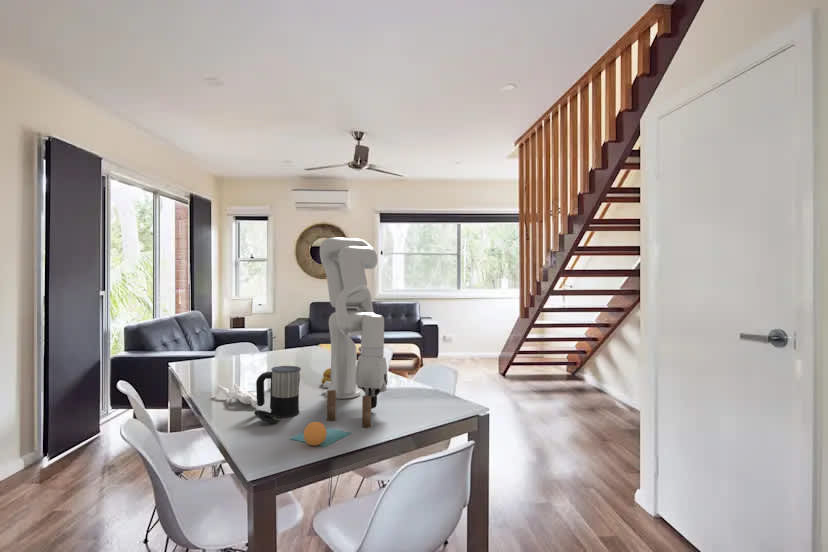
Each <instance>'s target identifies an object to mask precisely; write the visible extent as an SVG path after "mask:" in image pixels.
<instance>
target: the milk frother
mask: <svg viewBox="0 0 828 552" xmlns="http://www.w3.org/2000/svg"><path fill="white" fill-rule="evenodd" d="M270 370H271V371H265V372H263V373H261V374H260V375H259V376H258V377H257V378H256V383H255V385H256V386H255V387H256V390H255V391H256V392H257V405H258V407H263V405H264V404H266V403H265V380H266V379H267V380H268V379H269V380H270V392H269V393H270V397H269V398H270V400H269V401H270V403H269V409H270V411H265V410H261V409H257V410H255V411H254V413H253V414H254V416H255V417H257V418H258V419H260V420H262V421H264V422H265V423H267V424H269V425H270V424H271V423H278V422H279V419H280V418H290V417H294V416H298V415H299V414H300V407H299V405H300V404H299V401H300V400H299V399H300V398H299V396H300V384H299V383H300V382H299V373H300V371H301V370H302V368H301V367H300V366H297V365H279V366H274V367H272V368H271V369H270Z"/></svg>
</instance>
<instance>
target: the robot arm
mask: <svg viewBox="0 0 828 552" xmlns="http://www.w3.org/2000/svg"><path fill="white" fill-rule="evenodd" d="M319 256H320V257H319V258H320V262H321V265H322V267H323V270H324V272H325V275H326V281H327V290H328V297H329V303H330V305H331V307H332V308H335V312H332V313H331V314H330V316H329V319H328V327H329V335H330V336H329V337H330V368H331V382H330V381H325V383H324V384H322V387H323V388H327V389H328V390H336V400H337V399H338V400H340V399H343V400H346V399H353V398H356V397H359V396H360V395H361V390H362V391H363V393H364V396H365V395H370V396H371V410H372V409H375V408H376V407H377V405H378V395H379V394H380V393H384V392H386V391H387V390H388V388H387V385H388V377H389V376H388V366H387V359H386V356H385V352H384V351H385V317H384V316H383V315H381V314H376V313H375V312H374V306H373V301H372V295H371V291H370V289H369V287H368V279H367V276H366V270H374V269H375V268H376V267H377V265H378V254H377V252H376V250H375V248H374V247H373V246H372V245H371V244H370V243H368V242H367V241H365V240H364V239H361V238H350V237H348V238H347V237H328V238H327V237H326V238H325V239H323V240H322V241H321V243H320V246H319ZM348 309H350V310H348ZM351 309H355V310H351ZM356 309H357V310H356ZM353 336H360V346H359V347H358V349H357V346H356V343H355V342H354V341H353V339H352V338H351V337H353ZM357 350H358V351H357ZM357 352H360V355H358V359H357ZM328 390H327V391H328ZM327 391H326V393H325V394H326V396H327Z"/></svg>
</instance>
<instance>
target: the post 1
mask: <svg viewBox="0 0 828 552" xmlns="http://www.w3.org/2000/svg"><path fill="white" fill-rule="evenodd" d="M326 392H327V395H326V398H327V399H326V402H327V403H326V405H327V407H326V420H327V421H329V422H334V421H336V418H337V417H336V416H337V415H336V409H337V408H336V404H337V403H336V402H337V401H336V400H337V399H336V390H326Z"/></svg>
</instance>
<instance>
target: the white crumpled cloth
mask: <svg viewBox="0 0 828 552" xmlns="http://www.w3.org/2000/svg"><path fill="white" fill-rule="evenodd" d="M220 392H222V394H223V395H225V397H226V399H225V401H226V402H225V403H226V404H230V403H231V405H232V404H233V400H236V399H237V400H239V401H240V403H242V404H244V405H248V404H249V405H251V406H252V407H253V408H255V409H256V408H258V407H259V406H258V405H257V392H256V390H255V391H247V390H246V389H243V388H242V387H241V386H239V385H237V384H236V383H235V384H234V385H233V390H232V391H229V389H228V388H225V387H224V386H223V385H222V386H221V384H217V387H216V389H215V392H214V394H215V396H218V395H219V394H220Z"/></svg>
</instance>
